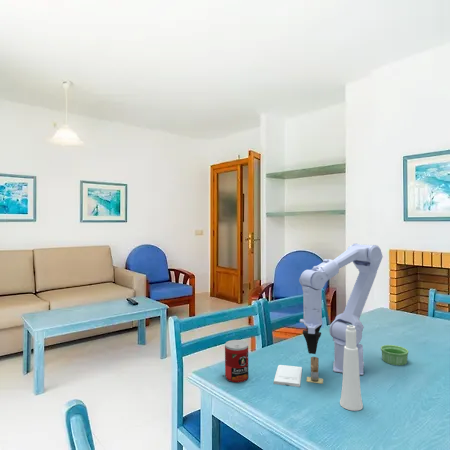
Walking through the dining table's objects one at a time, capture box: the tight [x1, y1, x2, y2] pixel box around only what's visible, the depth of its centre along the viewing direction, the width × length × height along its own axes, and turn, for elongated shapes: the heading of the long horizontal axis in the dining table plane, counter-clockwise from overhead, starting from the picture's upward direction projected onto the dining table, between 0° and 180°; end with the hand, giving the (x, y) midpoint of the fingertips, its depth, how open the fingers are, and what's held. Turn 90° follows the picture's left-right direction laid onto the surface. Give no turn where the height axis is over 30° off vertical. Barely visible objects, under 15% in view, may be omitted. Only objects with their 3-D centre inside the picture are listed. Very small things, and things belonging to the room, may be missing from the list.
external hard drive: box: [273, 364, 303, 388], centre depth 113 cm, size 2×8×12 cm
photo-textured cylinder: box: [310, 356, 320, 382], centre depth 110 cm, size 2×2×7 cm
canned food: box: [224, 339, 249, 383], centre depth 113 cm, size 8×8×11 cm
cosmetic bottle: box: [339, 324, 364, 412], centre depth 95 cm, size 6×6×22 cm
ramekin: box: [380, 344, 409, 366], centre depth 124 cm, size 9×9×4 cm
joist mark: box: [305, 376, 324, 385], centre depth 110 cm, size 5×3×1 cm, turn 72°
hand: (312, 348), depth 112 cm, fingers open, 7 cm apart
